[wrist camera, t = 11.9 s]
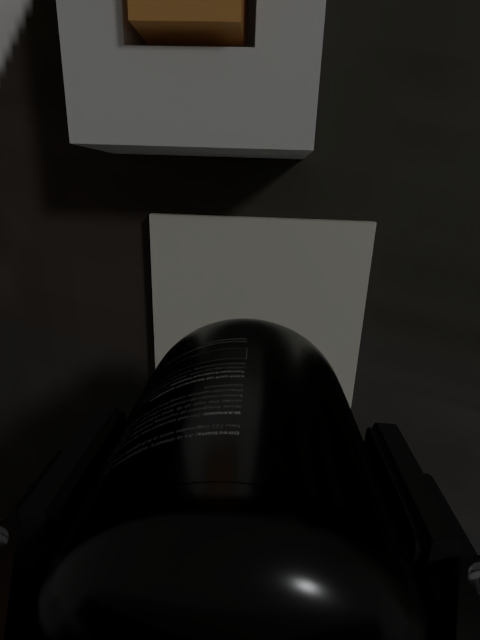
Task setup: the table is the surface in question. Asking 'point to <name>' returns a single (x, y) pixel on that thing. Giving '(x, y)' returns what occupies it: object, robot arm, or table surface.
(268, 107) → the box
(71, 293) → the table surface
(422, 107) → the table surface
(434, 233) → the table surface
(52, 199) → the table surface
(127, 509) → the supplement bottle
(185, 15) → the button
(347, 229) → the pad
